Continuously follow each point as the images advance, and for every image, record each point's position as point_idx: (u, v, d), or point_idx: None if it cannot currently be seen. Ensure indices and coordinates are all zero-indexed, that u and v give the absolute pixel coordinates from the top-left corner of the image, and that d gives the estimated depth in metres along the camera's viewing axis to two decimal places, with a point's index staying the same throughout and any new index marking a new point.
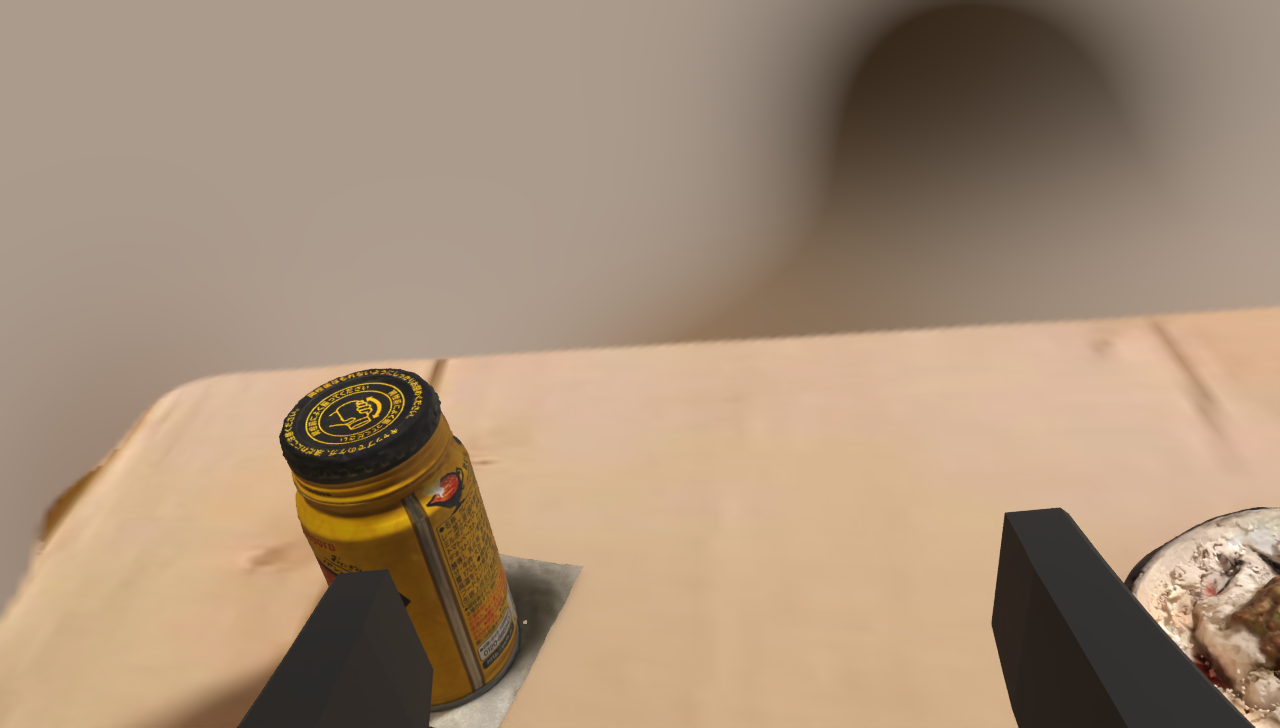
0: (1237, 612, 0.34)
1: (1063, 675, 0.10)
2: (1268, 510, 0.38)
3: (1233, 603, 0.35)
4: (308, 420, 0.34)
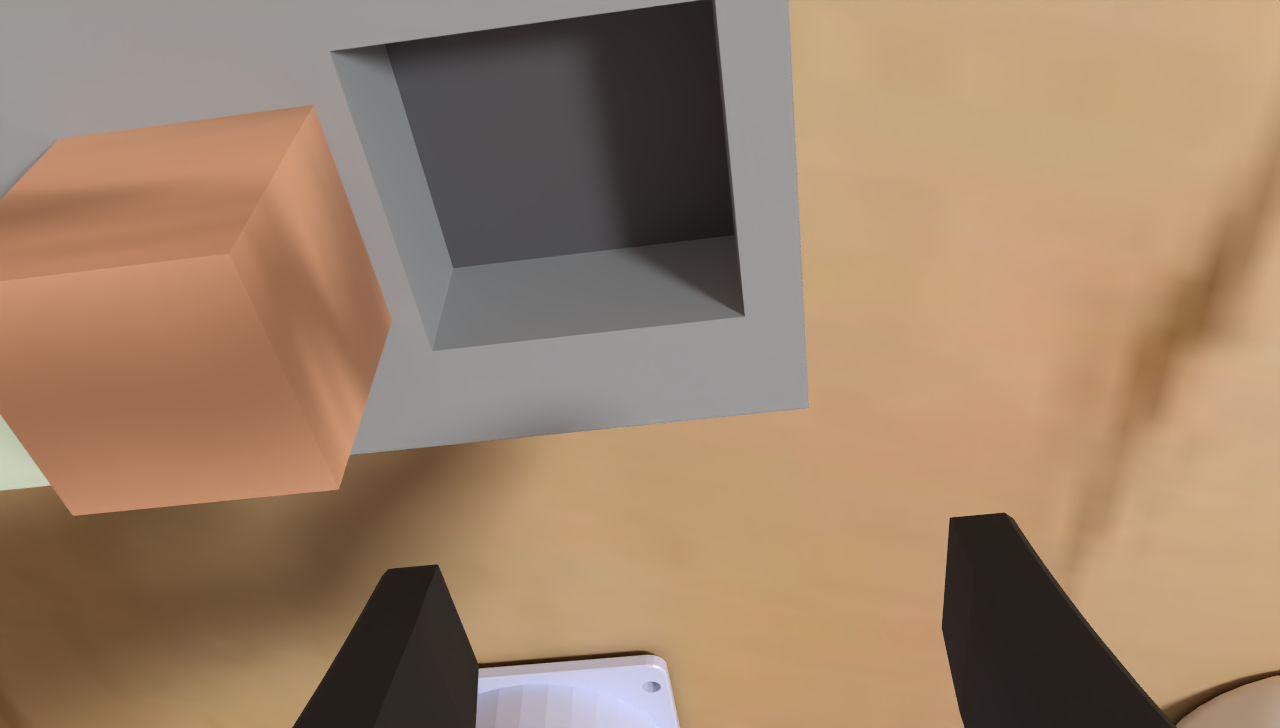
0: None
1: (1000, 679, 0.10)
2: None
3: None
4: None
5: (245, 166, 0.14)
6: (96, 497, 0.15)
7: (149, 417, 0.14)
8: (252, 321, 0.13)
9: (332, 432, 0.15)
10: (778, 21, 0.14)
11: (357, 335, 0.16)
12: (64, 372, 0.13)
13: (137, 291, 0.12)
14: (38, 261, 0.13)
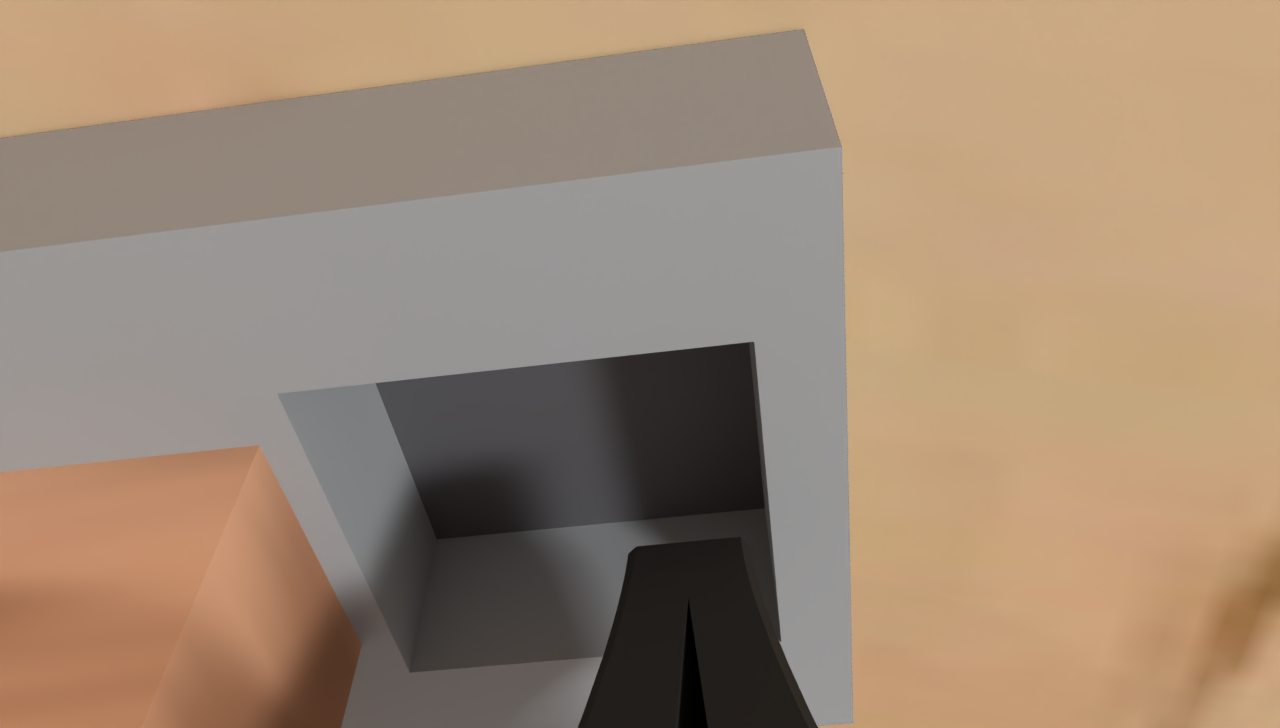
0: None
1: None
2: None
3: None
4: None
5: (167, 563, 0.11)
6: None
7: None
8: None
9: None
10: (832, 364, 0.12)
11: (315, 705, 0.13)
12: None
13: None
14: None
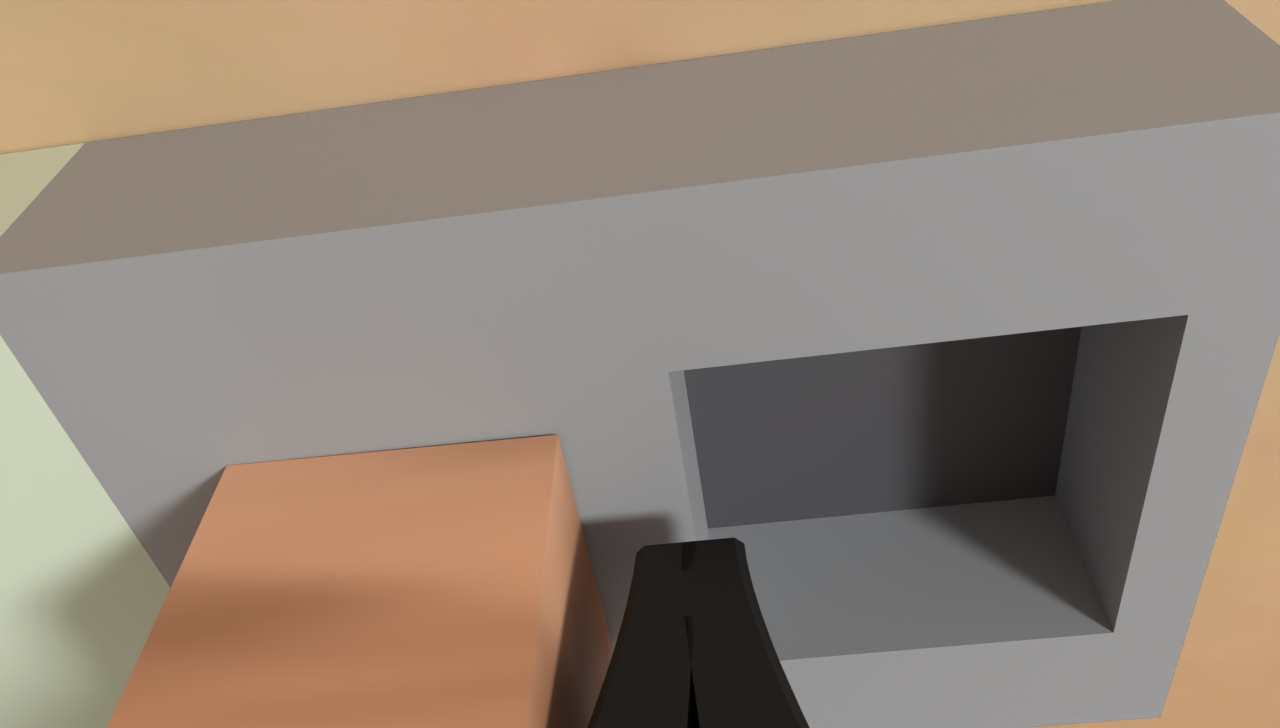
0: None
1: None
2: None
3: None
4: None
5: (496, 558, 0.11)
6: None
7: None
8: None
9: None
10: (1262, 338, 0.11)
11: None
12: None
13: None
14: None
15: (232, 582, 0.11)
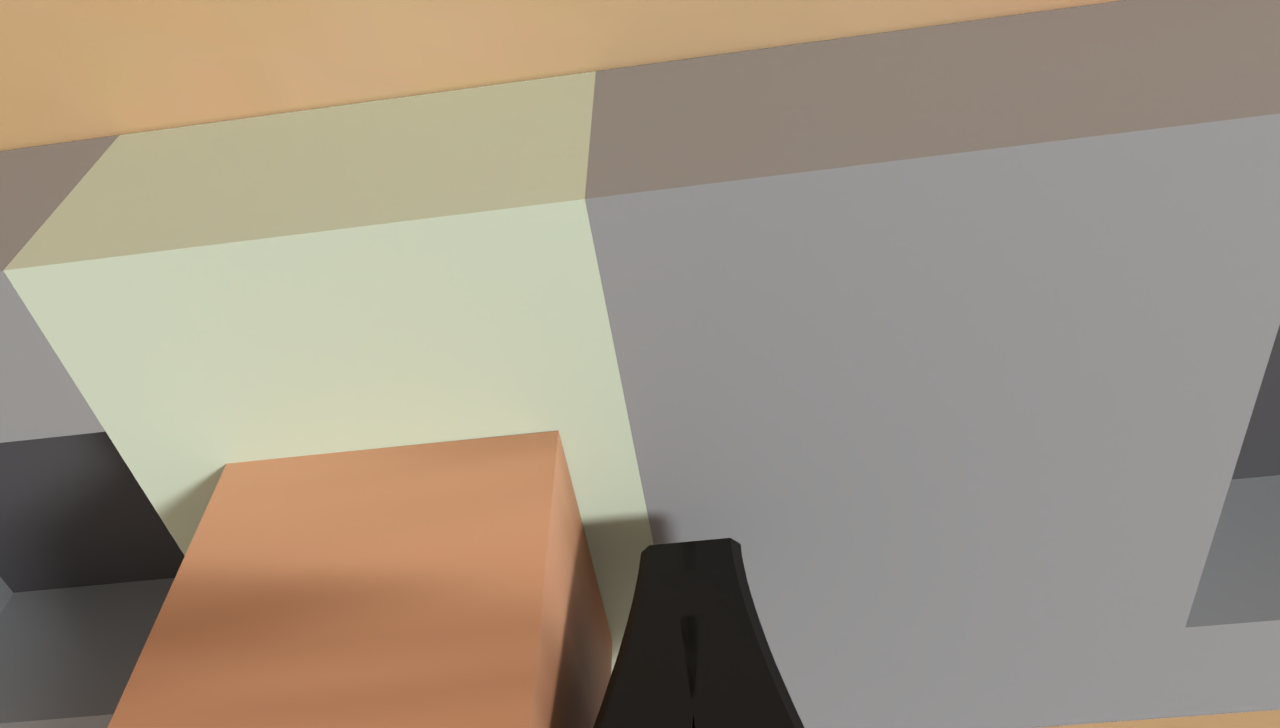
0: None
1: None
2: None
3: None
4: None
5: (499, 553, 0.11)
6: None
7: None
8: None
9: None
10: None
11: (597, 702, 0.13)
12: None
13: None
14: None
15: (233, 579, 0.11)
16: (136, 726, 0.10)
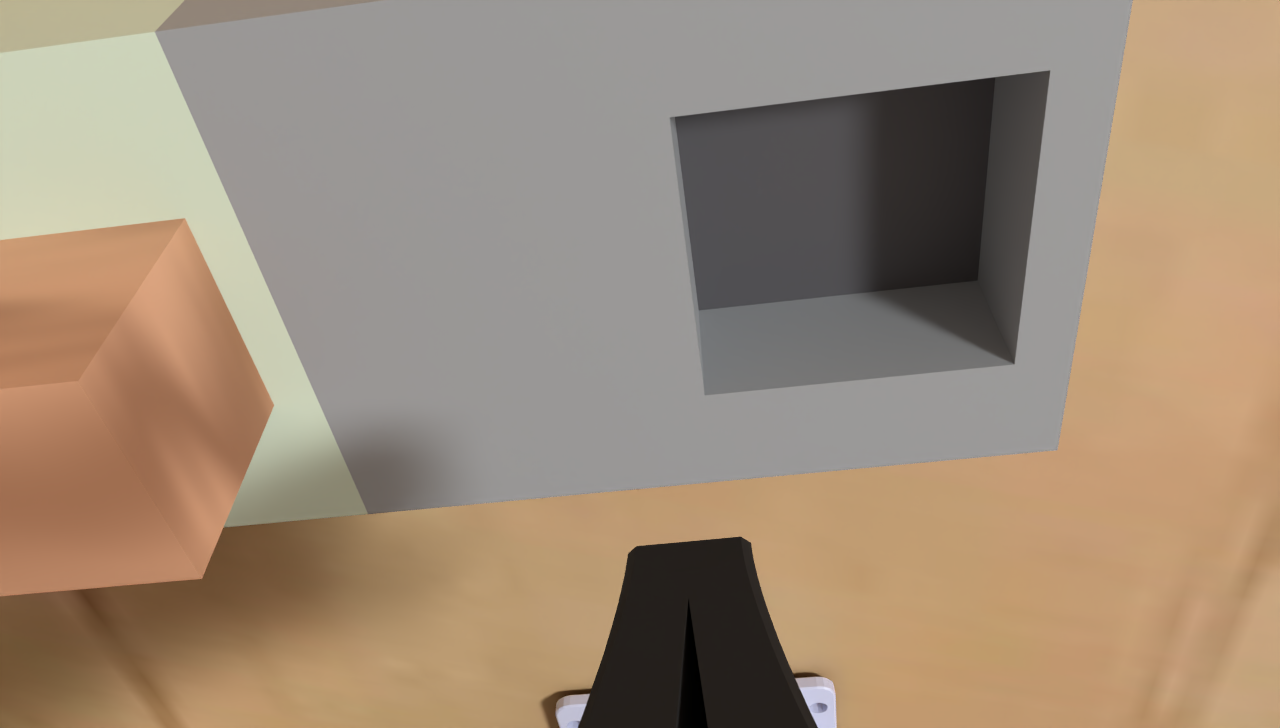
0: None
1: None
2: None
3: None
4: None
5: (111, 285, 0.15)
6: None
7: (20, 517, 0.15)
8: (106, 438, 0.14)
9: (196, 526, 0.16)
10: (1106, 91, 0.15)
11: (230, 428, 0.17)
12: None
13: None
14: None
15: None
16: None
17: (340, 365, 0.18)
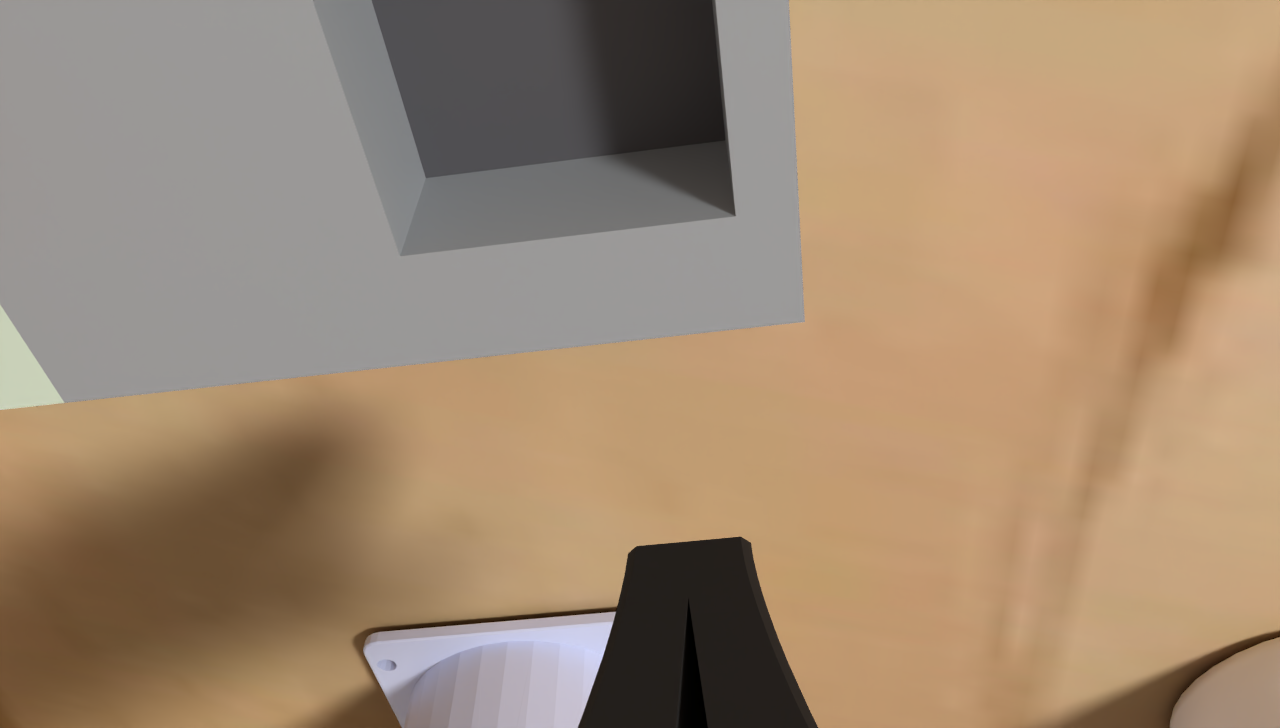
0: None
1: None
2: None
3: None
4: None
5: None
6: None
7: None
8: None
9: None
10: None
11: None
12: None
13: None
14: None
15: None
16: None
17: None
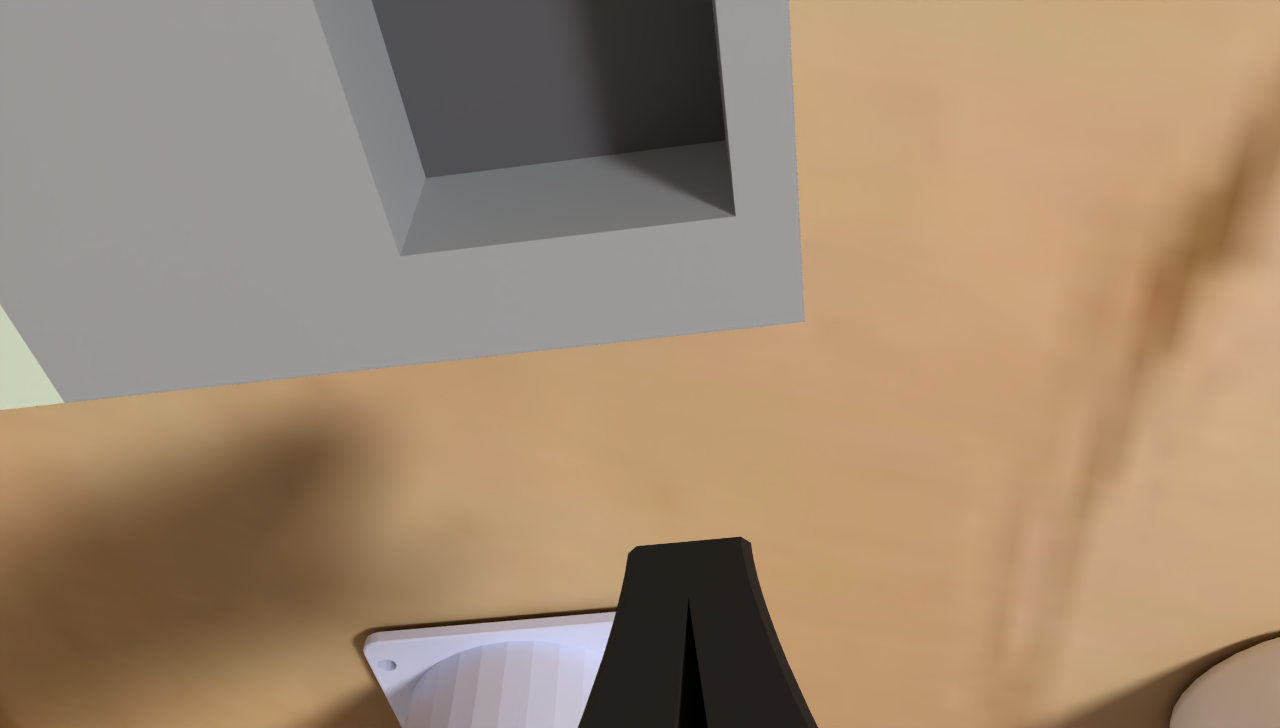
0: None
1: None
2: None
3: None
4: None
5: None
6: None
7: None
8: None
9: None
10: None
11: None
12: None
13: None
14: None
15: None
16: None
17: None
